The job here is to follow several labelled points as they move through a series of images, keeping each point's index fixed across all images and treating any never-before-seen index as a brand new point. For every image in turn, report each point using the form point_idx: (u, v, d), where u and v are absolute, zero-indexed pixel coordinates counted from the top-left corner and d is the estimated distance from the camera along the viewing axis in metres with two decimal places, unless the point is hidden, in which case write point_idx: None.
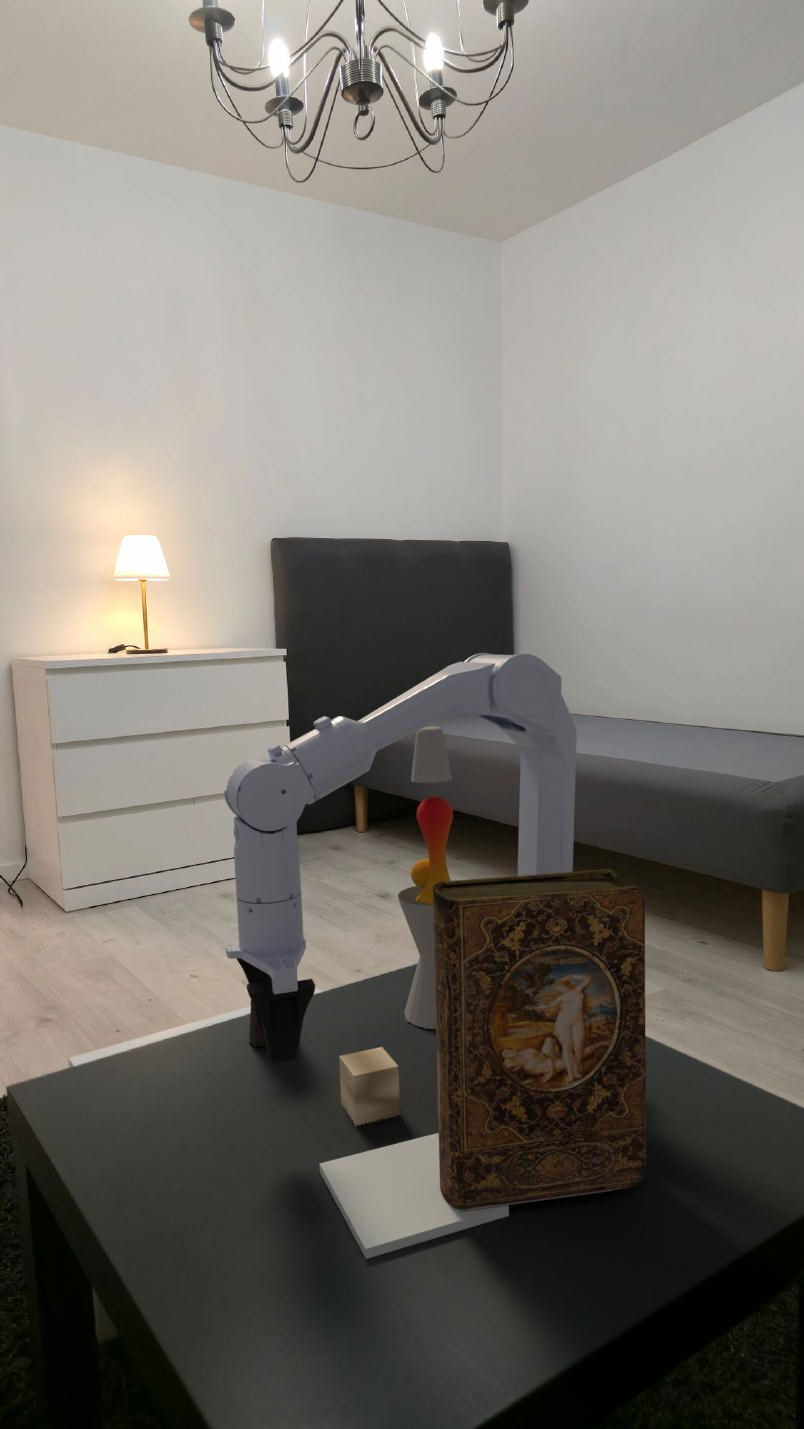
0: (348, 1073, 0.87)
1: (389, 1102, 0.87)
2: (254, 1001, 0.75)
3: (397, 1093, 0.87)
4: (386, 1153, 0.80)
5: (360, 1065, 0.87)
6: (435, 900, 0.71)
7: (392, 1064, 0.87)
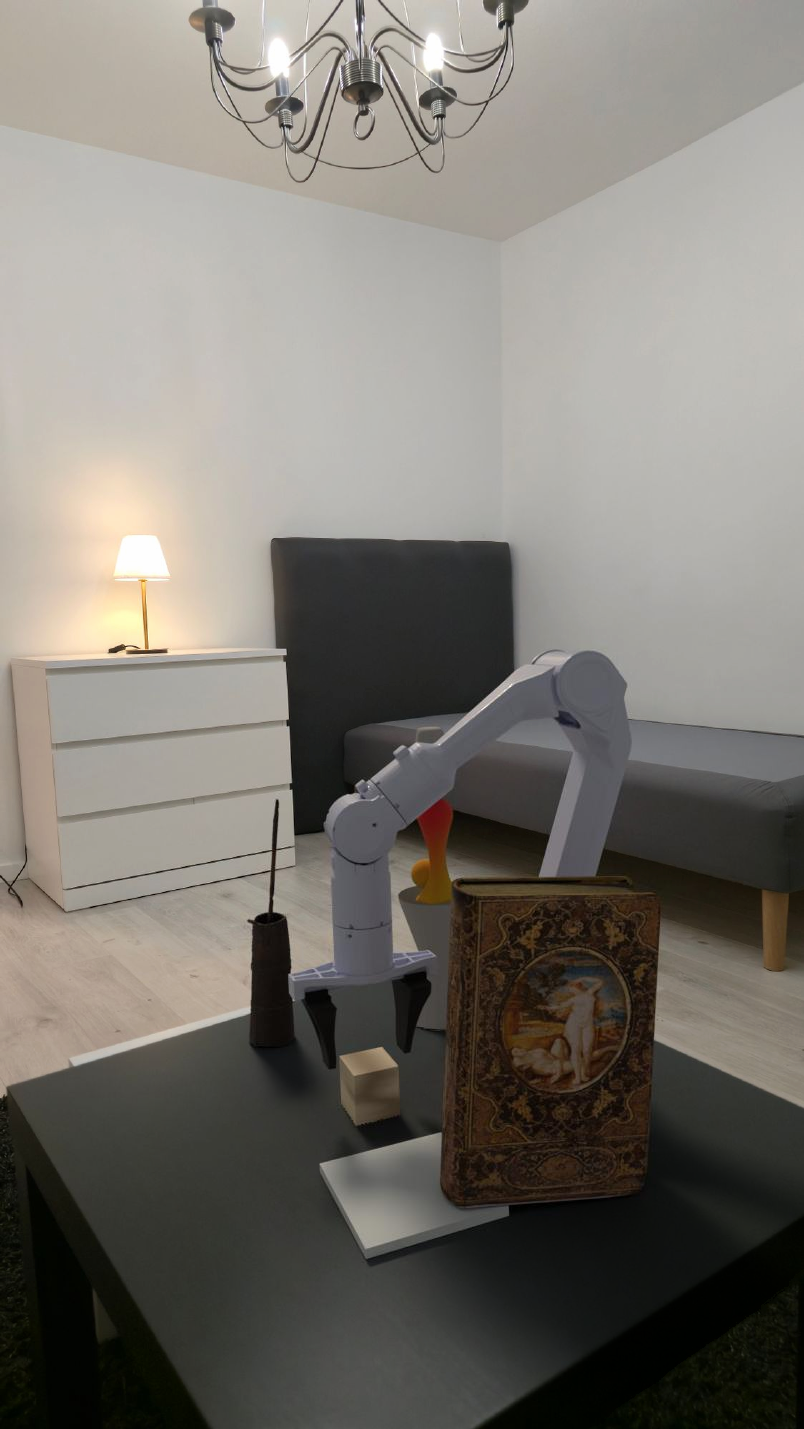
0: (348, 1073, 0.87)
1: (389, 1102, 0.87)
2: None
3: (397, 1093, 0.87)
4: (386, 1153, 0.80)
5: (361, 1065, 0.87)
6: (454, 895, 0.71)
7: (392, 1064, 0.87)
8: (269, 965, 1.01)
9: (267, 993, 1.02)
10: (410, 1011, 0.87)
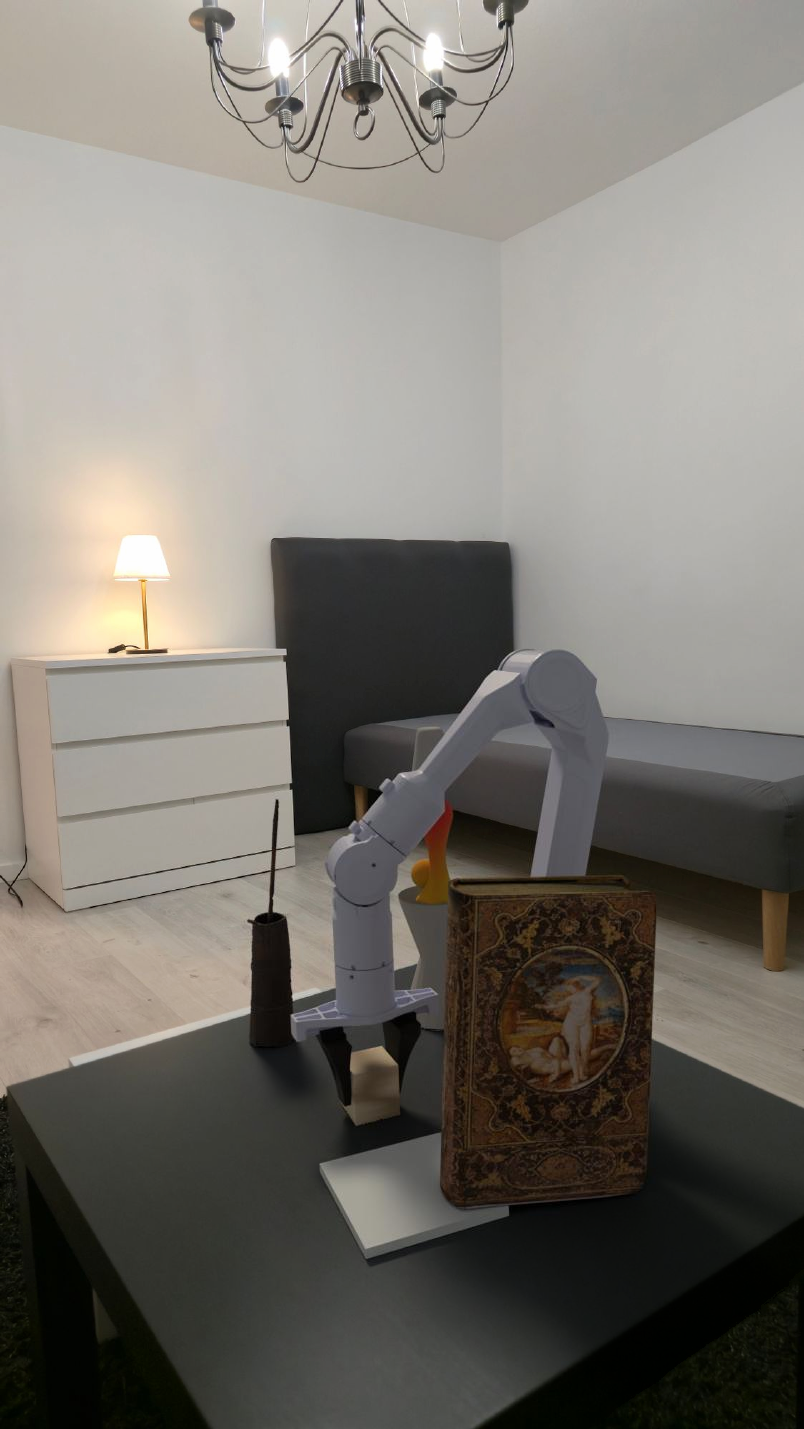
0: None
1: (389, 1102, 0.87)
2: None
3: (397, 1092, 0.87)
4: (386, 1153, 0.80)
5: (360, 1064, 0.87)
6: (450, 895, 0.72)
7: (392, 1063, 0.87)
8: (269, 965, 1.01)
9: (267, 993, 1.02)
10: (400, 1053, 0.87)
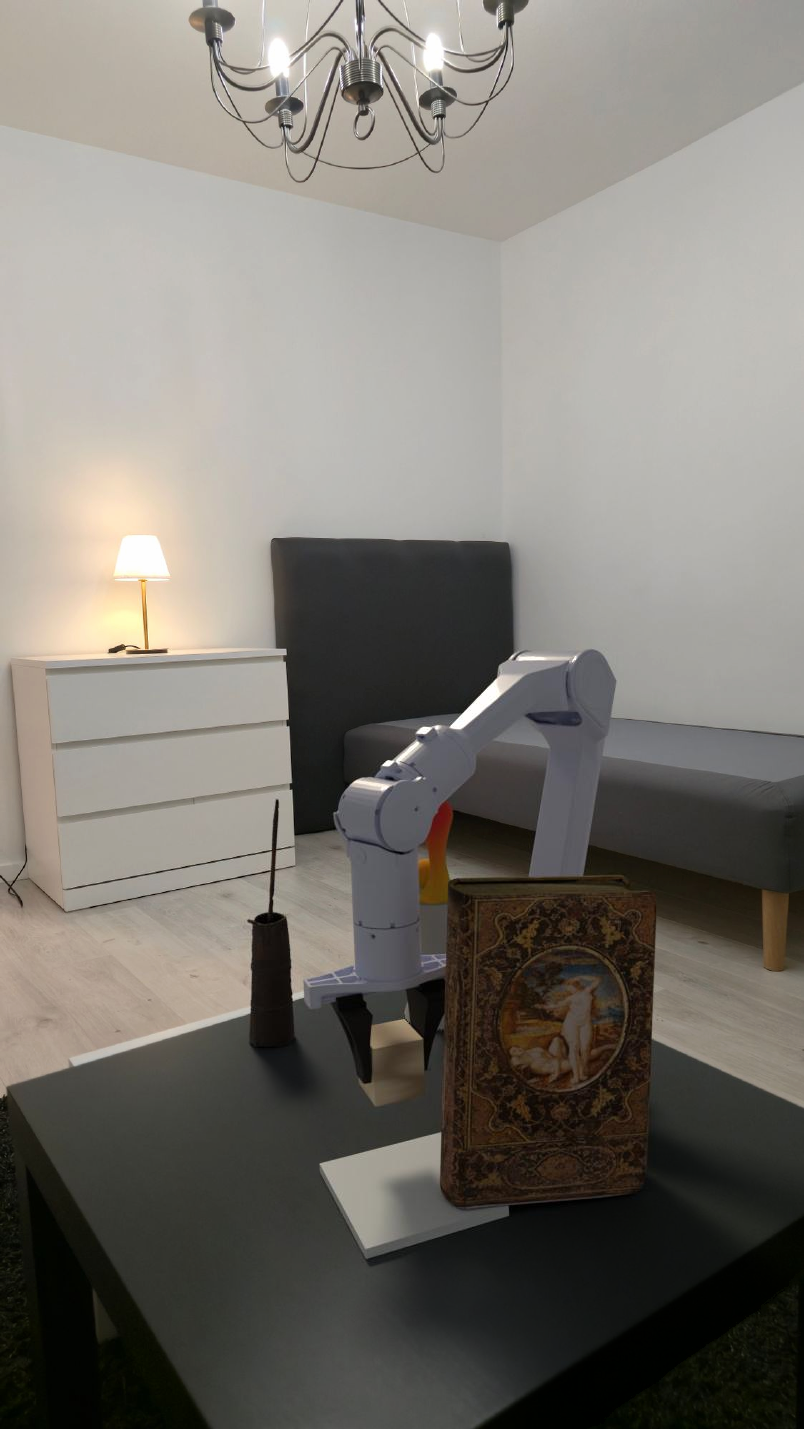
0: None
1: (412, 1080, 0.77)
2: None
3: (422, 1070, 0.77)
4: (386, 1153, 0.80)
5: (380, 1038, 0.78)
6: (450, 895, 0.72)
7: (416, 1037, 0.78)
8: (269, 965, 1.01)
9: (267, 993, 1.02)
10: (427, 1024, 0.77)
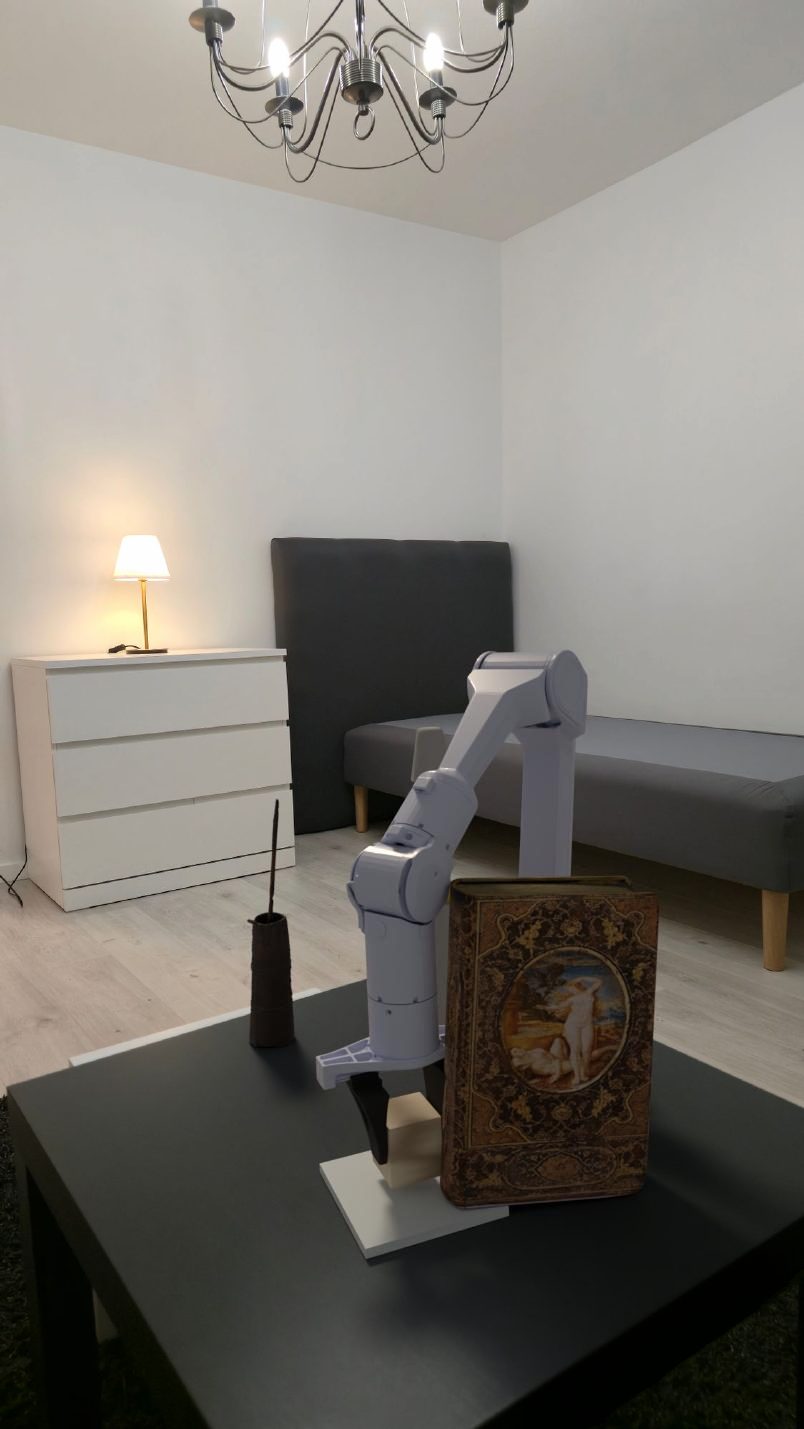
0: None
1: (430, 1160, 0.74)
2: None
3: (440, 1148, 0.74)
4: None
5: (396, 1115, 0.74)
6: (452, 895, 0.71)
7: (434, 1114, 0.74)
8: (269, 965, 1.01)
9: (267, 993, 1.02)
10: None
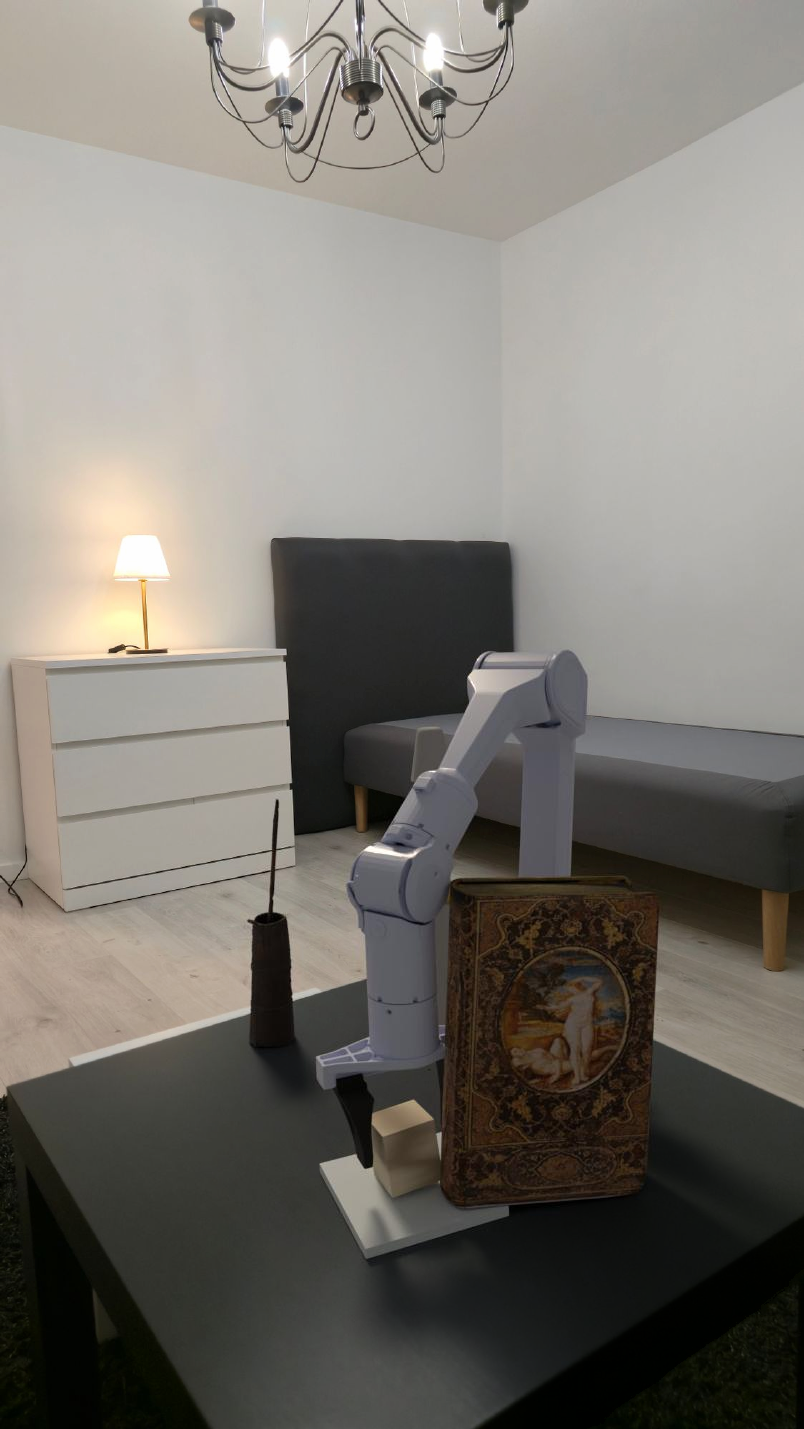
0: (376, 1134, 0.74)
1: (428, 1164, 0.74)
2: None
3: (437, 1152, 0.74)
4: None
5: (390, 1123, 0.74)
6: (452, 895, 0.71)
7: (427, 1117, 0.74)
8: (269, 965, 1.01)
9: (267, 993, 1.02)
10: None
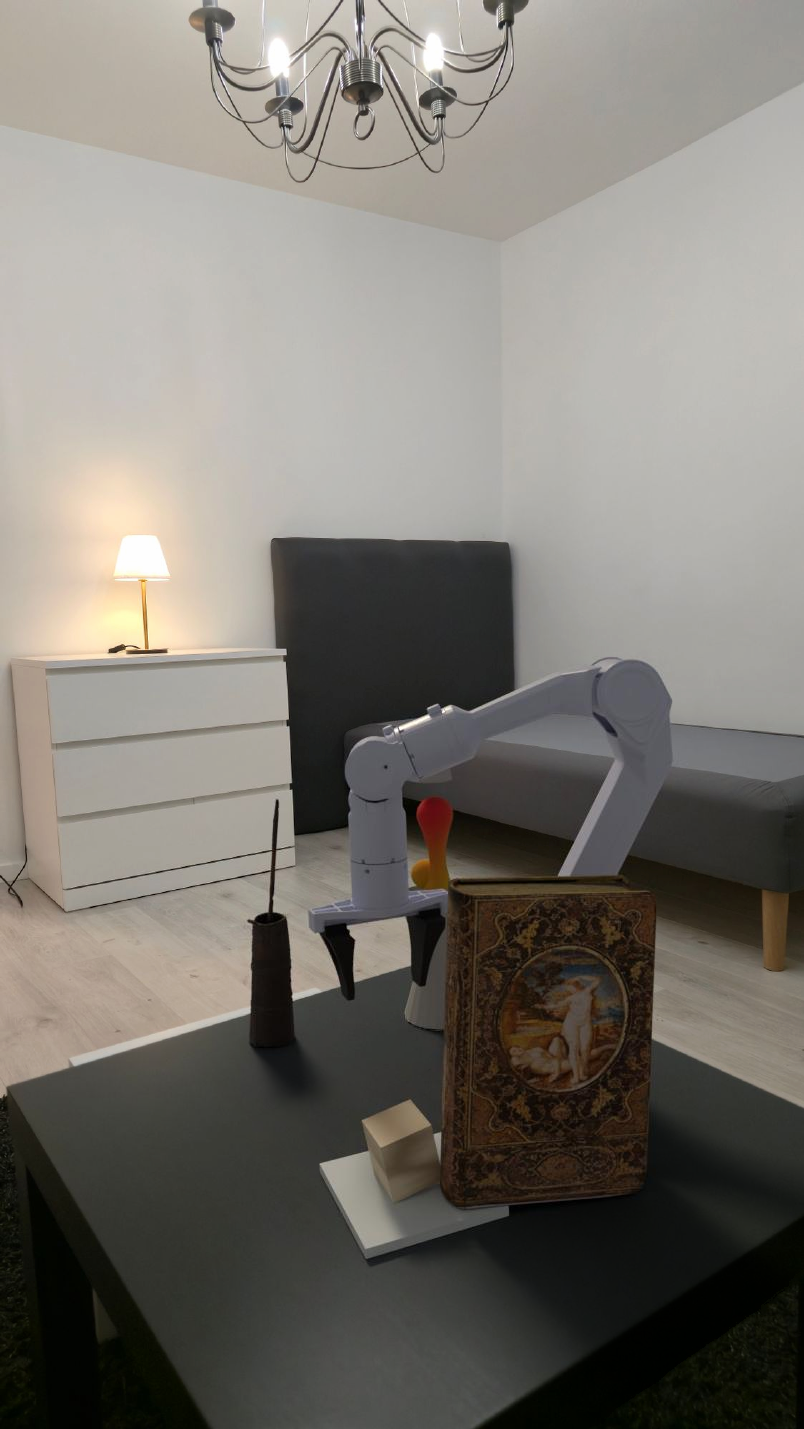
0: (374, 1142, 0.73)
1: (428, 1168, 0.73)
2: None
3: (435, 1155, 0.74)
4: None
5: (387, 1130, 0.74)
6: (450, 895, 0.72)
7: (424, 1123, 0.74)
8: (269, 965, 1.01)
9: (267, 993, 1.02)
10: (425, 945, 0.91)
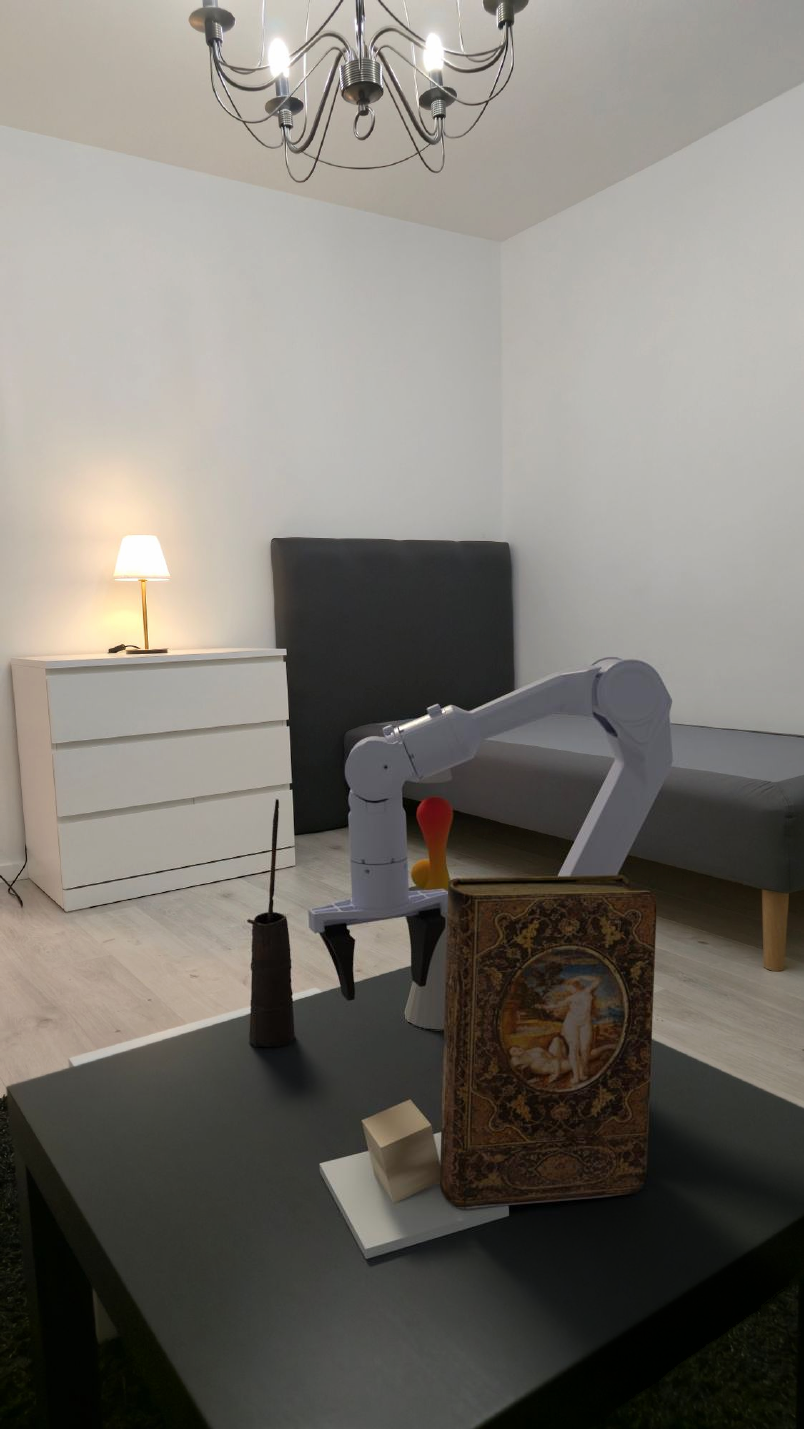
0: (374, 1142, 0.73)
1: (428, 1168, 0.73)
2: None
3: (435, 1155, 0.74)
4: None
5: (387, 1130, 0.74)
6: (450, 895, 0.72)
7: (424, 1123, 0.74)
8: (269, 965, 1.01)
9: (267, 993, 1.02)
10: (425, 945, 0.91)
